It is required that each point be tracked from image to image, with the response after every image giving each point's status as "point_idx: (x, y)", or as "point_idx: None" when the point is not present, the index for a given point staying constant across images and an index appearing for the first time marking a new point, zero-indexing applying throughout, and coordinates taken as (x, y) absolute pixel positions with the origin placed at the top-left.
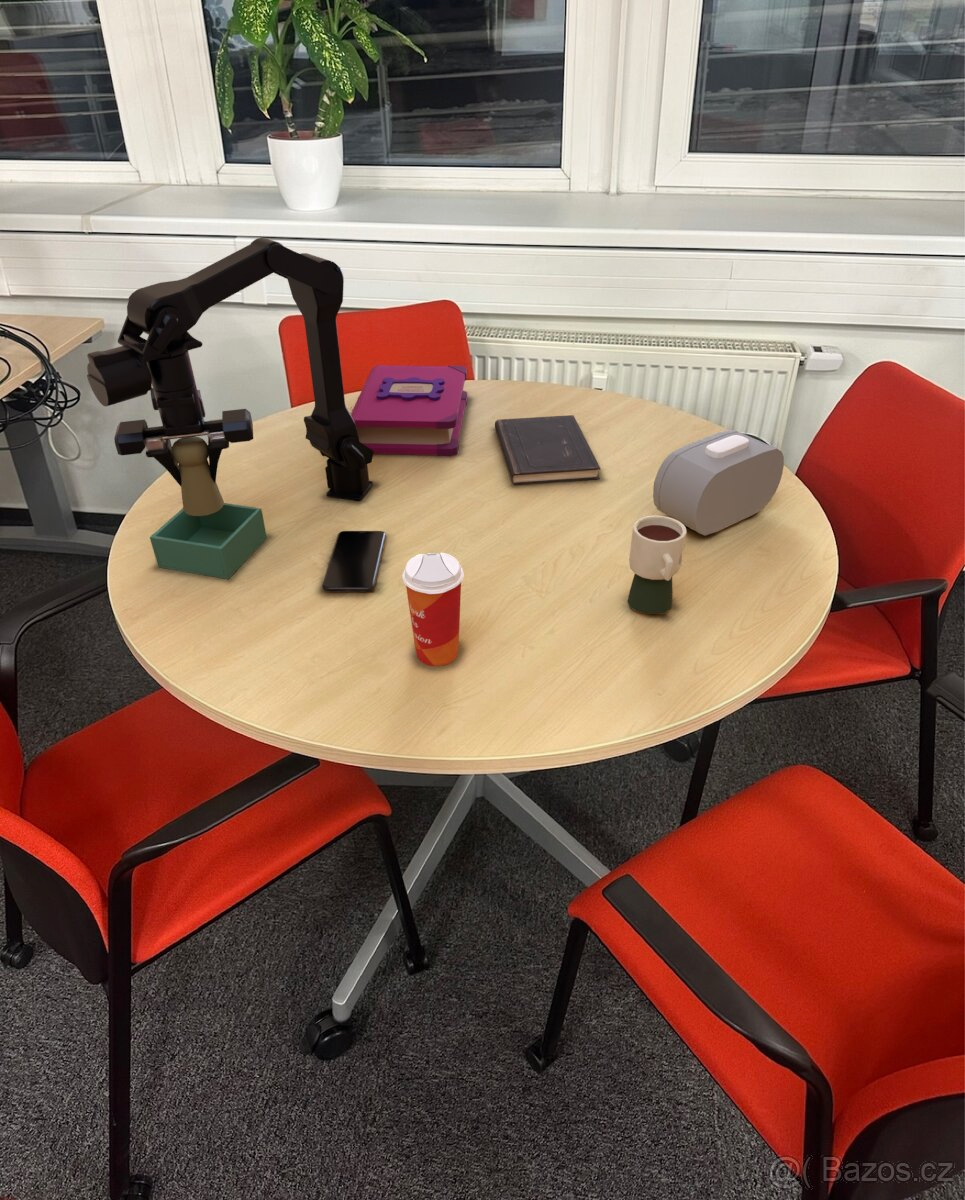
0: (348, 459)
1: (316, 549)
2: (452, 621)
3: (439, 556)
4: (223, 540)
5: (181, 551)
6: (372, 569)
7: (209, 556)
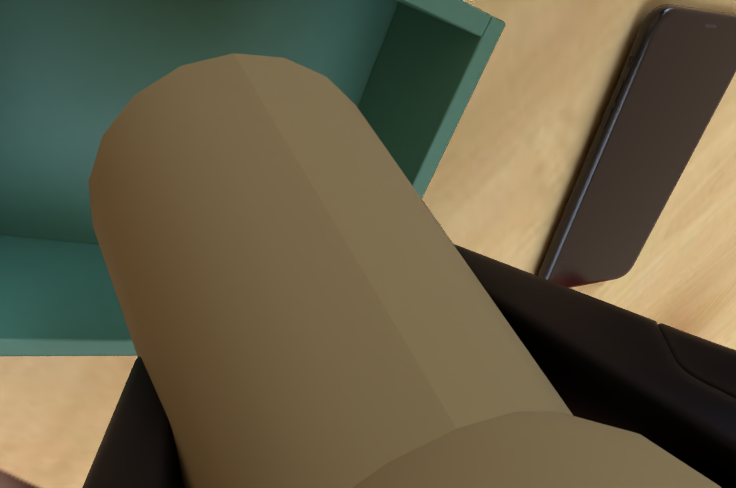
0: None
1: (559, 88)
2: None
3: None
4: (226, 28)
5: None
6: (653, 215)
7: None
